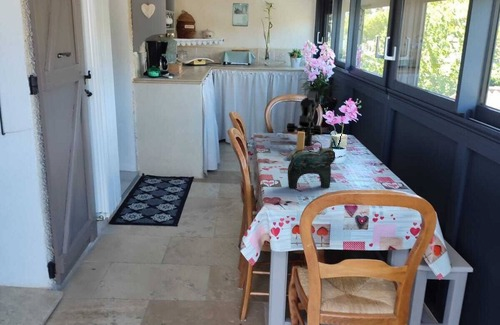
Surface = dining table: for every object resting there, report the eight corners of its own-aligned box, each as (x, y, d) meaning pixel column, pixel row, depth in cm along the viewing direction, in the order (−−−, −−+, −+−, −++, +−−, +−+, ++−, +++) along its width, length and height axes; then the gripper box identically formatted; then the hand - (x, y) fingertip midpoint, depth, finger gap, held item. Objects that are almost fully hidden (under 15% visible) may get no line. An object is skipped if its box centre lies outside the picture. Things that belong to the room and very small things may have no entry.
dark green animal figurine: (330, 184, 195) (333, 139, 190) (335, 189, 189) (339, 143, 184) (285, 185, 192) (288, 139, 187) (289, 190, 186) (292, 143, 181)
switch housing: (291, 152, 245) (292, 146, 244) (310, 154, 243) (310, 148, 242) (286, 160, 230) (287, 154, 229) (306, 162, 228) (306, 156, 227)
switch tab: (296, 152, 240) (298, 131, 237) (303, 152, 240) (304, 131, 236) (296, 153, 238) (297, 132, 235) (302, 153, 237) (304, 132, 234)
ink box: (338, 154, 246) (340, 133, 243) (346, 156, 242) (348, 134, 239) (328, 156, 241) (330, 134, 237) (335, 158, 237) (337, 136, 234)
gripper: (288, 108, 245) (283, 132, 238) (322, 110, 241) (318, 135, 233) (289, 120, 254) (285, 143, 247) (322, 122, 250) (319, 146, 243)
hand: (301, 141), depth 242 cm, fingers closed
